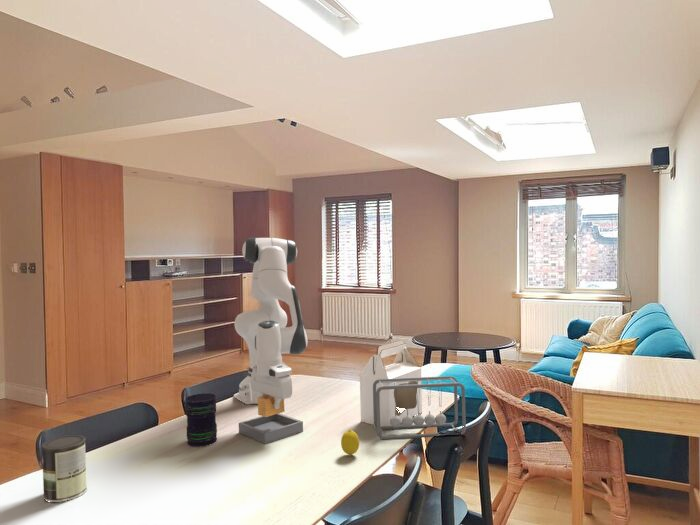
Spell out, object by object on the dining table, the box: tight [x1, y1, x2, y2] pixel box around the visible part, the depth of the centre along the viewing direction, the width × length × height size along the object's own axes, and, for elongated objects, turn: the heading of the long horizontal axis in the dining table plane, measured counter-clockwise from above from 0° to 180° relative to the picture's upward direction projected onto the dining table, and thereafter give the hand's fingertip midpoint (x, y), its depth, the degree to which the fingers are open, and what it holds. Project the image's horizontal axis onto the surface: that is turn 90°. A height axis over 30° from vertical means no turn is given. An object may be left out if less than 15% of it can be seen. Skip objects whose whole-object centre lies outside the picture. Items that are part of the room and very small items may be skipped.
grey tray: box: [238, 413, 304, 445], centre depth 182 cm, size 16×16×4 cm
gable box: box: [359, 340, 423, 427], centre depth 194 cm, size 22×13×28 cm, turn 141°
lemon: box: [340, 429, 360, 457], centre depth 159 cm, size 6×6×8 cm
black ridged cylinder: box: [185, 393, 218, 448], centre depth 174 cm, size 10×10×15 cm
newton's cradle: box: [373, 375, 467, 440], centre depth 177 cm, size 30×10×18 cm, turn 94°
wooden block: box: [257, 395, 285, 417], centre depth 182 cm, size 4×8×6 cm, turn 135°
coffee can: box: [40, 434, 88, 503], centre depth 138 cm, size 10×10×14 cm
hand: (271, 407), depth 182 cm, fingers closed on wooden block, 4 cm apart
